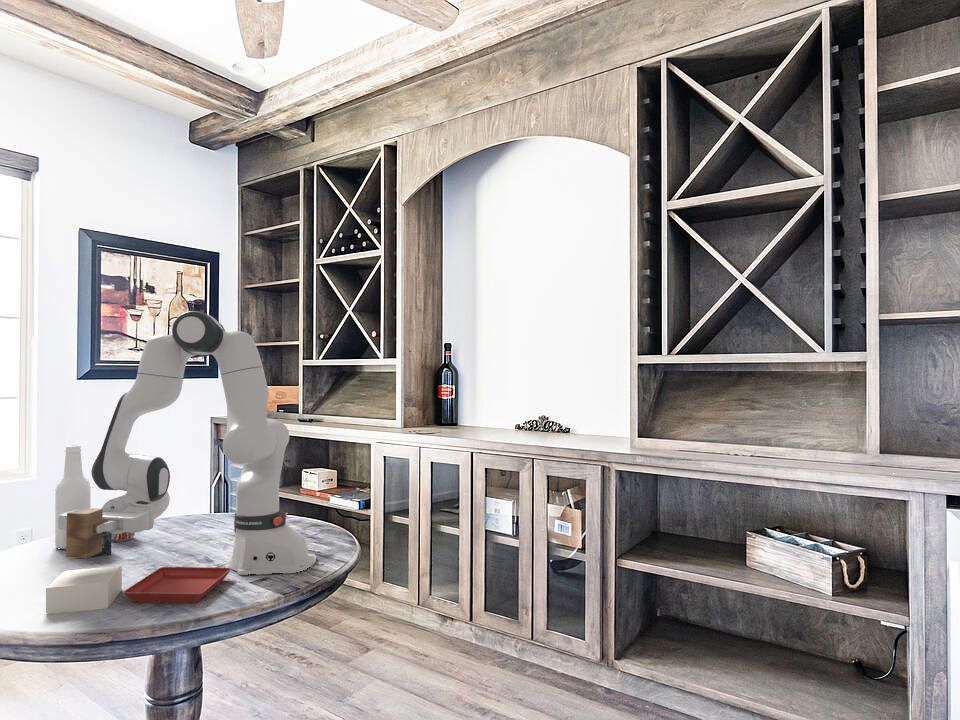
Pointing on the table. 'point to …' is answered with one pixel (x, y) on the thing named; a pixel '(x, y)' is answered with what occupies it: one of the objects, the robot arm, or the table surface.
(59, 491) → the white bottle
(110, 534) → the box
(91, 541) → the walnut block
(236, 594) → the table surface
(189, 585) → the plant saucer
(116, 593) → the plinth
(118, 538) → the soda can
